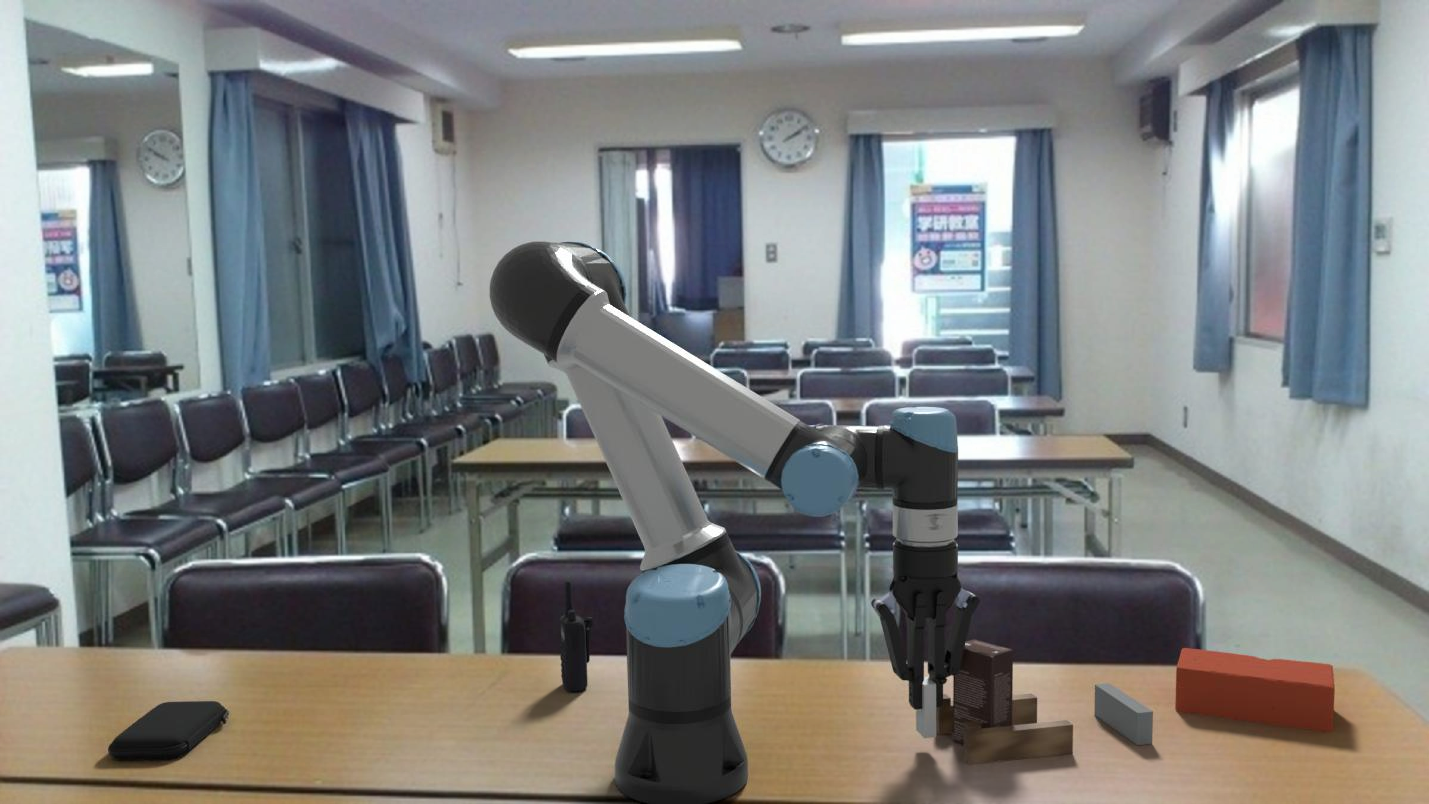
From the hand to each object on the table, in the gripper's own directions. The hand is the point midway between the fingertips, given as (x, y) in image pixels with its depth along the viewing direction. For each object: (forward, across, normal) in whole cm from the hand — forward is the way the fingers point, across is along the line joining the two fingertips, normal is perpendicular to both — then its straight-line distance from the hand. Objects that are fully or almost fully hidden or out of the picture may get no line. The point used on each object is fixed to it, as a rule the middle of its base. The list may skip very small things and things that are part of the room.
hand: (926, 733), depth 141 cm
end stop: (+2, +26, 0) cm, 26 cm away
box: (+2, +7, 0) cm, 8 cm away
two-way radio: (+2, -39, +32) cm, 50 cm away
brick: (+3, +45, +2) cm, 45 cm away
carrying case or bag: (+2, -90, +26) cm, 94 cm away
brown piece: (+2, +10, 0) cm, 10 cm away
